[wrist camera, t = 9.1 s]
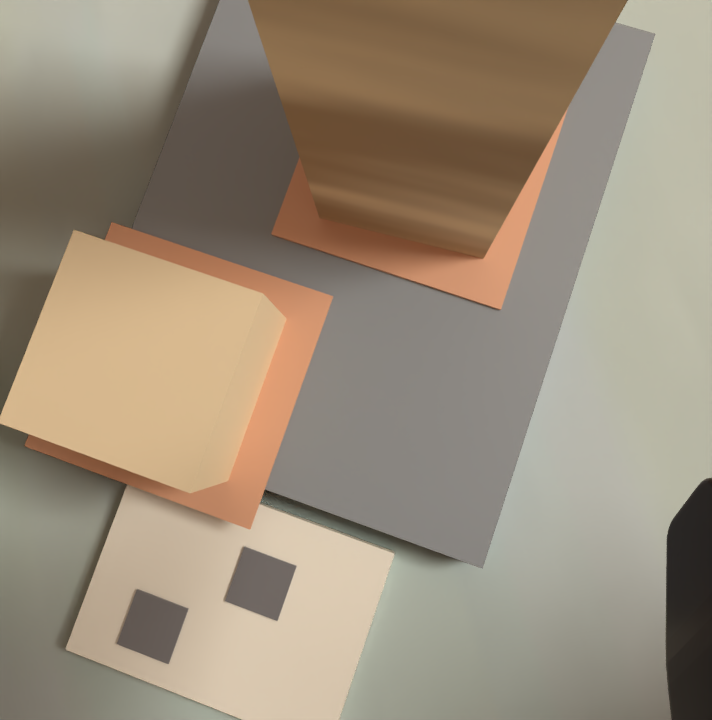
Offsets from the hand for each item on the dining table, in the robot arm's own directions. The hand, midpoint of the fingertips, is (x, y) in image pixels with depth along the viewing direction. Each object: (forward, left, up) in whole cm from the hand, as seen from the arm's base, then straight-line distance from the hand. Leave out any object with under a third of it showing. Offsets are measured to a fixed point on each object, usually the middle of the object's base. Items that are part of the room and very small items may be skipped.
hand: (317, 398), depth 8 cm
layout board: (+5, +1, -9) cm, 10 cm away
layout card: (-5, +1, -9) cm, 11 cm away
